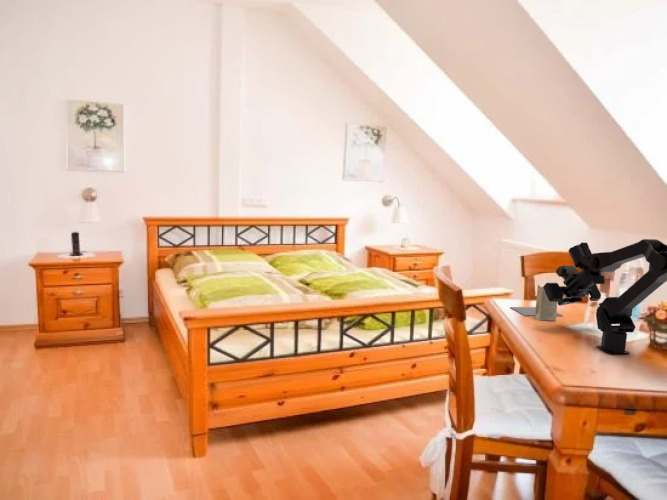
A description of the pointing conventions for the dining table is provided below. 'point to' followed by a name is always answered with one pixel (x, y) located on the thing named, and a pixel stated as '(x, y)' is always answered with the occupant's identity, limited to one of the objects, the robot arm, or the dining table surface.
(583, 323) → the dining table surface
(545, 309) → the skincare box
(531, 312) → the felt mat
